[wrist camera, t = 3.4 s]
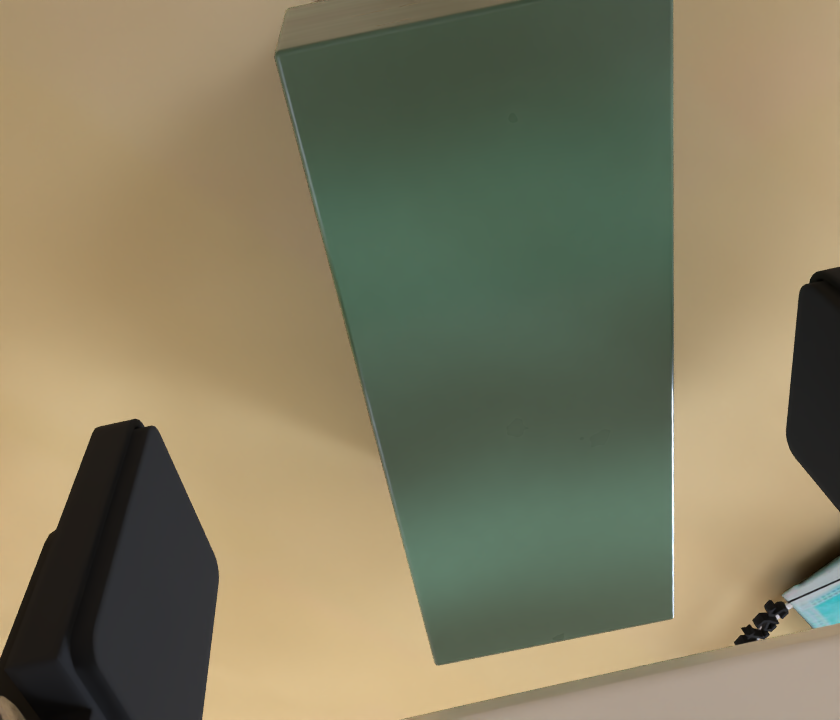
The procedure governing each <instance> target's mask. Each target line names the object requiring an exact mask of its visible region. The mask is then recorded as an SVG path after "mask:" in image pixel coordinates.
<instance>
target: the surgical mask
mask: <svg viewBox="0 0 840 720" xmlns="http://www.w3.org/2000/svg"><path fill="white" fill-rule="evenodd" d="M781 596H782V597H783V598H784V599H785V600H786V601H787V603H785V604H784V602H782V601H780V602H777V603H775V604H774V603H773V602H772V600H769V601H768V602H767V603H766V604H765V605H764V607H765V609H766V611H767V613H758V615H757V616H756V617H755V618H754V619H753V620H752V621H753V622H754V624H755V626H756V627H757V629H754V628H752V627H751V625H750V624H749V625H748V626H747V627H743V628H741V629H742V630H743V632H744V633H745V635H740V636H739V637H738V638H737V640H736V641H735V642H734V643H735V645H740V644H744V643H749V642H754V641H758V640H759V639H765V638H767V637H768V636H769V635H770V634H769V633H768V631H770V632H772V631H773V630H774V629H775V628H776V627H777V626H776V624H779V622H778V619H779V618H782V619H783V618H784V617H785V616H786V615H787V614H788V610H789V609H790V608H792V607H793V608H794V609H795V610H796V611H797V612H798V613H799V614H800V615H801V616H802V617H803V618H804V619H805V620H806V621H807V623H808V624H809V625H810V626H811V627H812V628H813V629H814V628H819V627H824V626H828V625H833V624H838V623H840V556H838V557H837V558H835V559H834V560H832V561H831V562H830V563H828V564H827V565H825V566H824V567H822V568H821V569H819V570H818V571H817V572H815V573H814V574H812V575H811V576H810V577H808V578H807V579H805V580H804V581H802V582H801V583H799V584H798V585H795V586H793V587H791V588H789V589H788V590H787V591H786V592H784V593H783V594H782V595H781Z"/></svg>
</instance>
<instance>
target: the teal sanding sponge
mask: <svg viewBox="0 0 840 720" xmlns="http://www.w3.org/2000/svg"><path fill="white" fill-rule="evenodd" d="M274 58H275V62H276V66H277V69H278V73H279V77H280V81H281V85H282V88H283V92H284V96H285V100H286V103H287V107H288V111H289V115H290V119H291V122H292V126H293V130H294V134H295V137H296V141H297V145H298V149H299V153H300V156H301V160H302V164H303V168H304V171H305V175H306V179H307V183H308V187H309V190H310V194H311V198H312V202H313V205H314V209H315V213H316V217H317V221H318V224H319V228H320V232H321V236H322V239H323V243H324V247H325V251H326V255H327V258H328V262H329V266H330V270H331V273H332V277H333V281H334V285H335V289H336V292H337V296H338V300H339V304H340V307H341V311H342V315H343V319H344V323H345V326H346V330H347V334H348V338H349V341H350V345H351V349H352V353H353V357H354V360H355V364H356V368H357V372H358V375H359V379H360V383H361V387H362V391H363V394H364V398H365V402H366V406H367V409H368V413H369V417H370V421H371V425H372V428H373V432H374V436H375V440H376V444H377V447H378V451H379V455H380V459H381V462H382V466H383V470H384V474H385V478H386V481H387V485H388V489H389V493H390V496H391V500H392V504H393V508H394V512H395V515H396V519H397V523H398V527H399V530H400V534H401V538H402V542H403V546H404V549H405V553H406V557H407V561H408V564H409V568H410V572H411V576H412V580H413V583H414V587H415V591H416V595H417V598H418V602H419V606H420V610H421V614H422V617H423V621H424V625H425V629H426V632H427V636H428V640H429V644H430V648H431V651H432V655H433V659H434V662H435V664H436V665H444V664H449V663H454V662H459V661H464V660H469V659H474V658H479V657H484V656H489V655H494V654H499V653H504V652H509V651H514V650H519V649H524V648H529V647H534V646H539V645H544V644H549V643H554V642H560V641H565V640H570V639H575V638H580V637H585V636H590V635H595V634H600V633H605V632H610V631H615V630H620V629H625V628H630V627H635V626H640V625H645V624H650V623H655V622H660V621H665V620H670V619H673V618H674V223H673V0H325V1H320V2H315V3H311V4H306V5H301V6H296V7H291V8H288V9H287V10H286V12H285V16H284V20H283V24H282V27H281V31H280V35H279V39H278V43H277V46H276V50H275V56H274Z"/></svg>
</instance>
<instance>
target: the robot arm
mask: <svg viewBox="0 0 840 720" xmlns="http://www.w3.org/2000/svg"><path fill="white" fill-rule="evenodd" d="M786 437H787V442H788V445H789V448H790V450H791V452H792V454H793V455H794V457H795V458H796V459H797V461H798V462H799V463H800V464H801V465H802V467H803V468H804V469H805V470H806V471H807V473H808V474H809V475H810V476H811V478H812V479H813V480H814V481H815V482H816V484H817V485H818V486H819V487H820V488H821V490H822V491H823V492H824V493H825V495H826V496H827V497H828V498H829V499H830V501H831V502H832V503H833V504H834V506H835V507H836V508H837V509H838V510H839V512H840V267H836V268H832V269H827V270H822V271H818V272H816V273H814V274H813V275H812V277H811V279H810V282H809V284H805V285H804V286H802V288H801V290H800V293H799V300H798V310H797V321H796V331H795V342H794V352H793V363H792V373H791V384H790V395H789V405H788V416H787V426H786ZM218 584H219V571H218V565H217V561H216V558H215V555H214V553H213V550H212V548H211V546H210V544H209V541H208V539H207V537H206V535H205V533H204V530H203V528H202V526H201V524H200V522H199V519H198V517H197V515H196V513H195V510H194V508H193V506H192V504H191V502H190V499H189V497H188V495H187V493H186V490H185V488H184V486H183V484H182V482H181V479H180V477H179V475H178V473H177V471H176V468H175V466H174V464H173V462H172V459H171V457H170V455H169V453H168V451H167V448H166V446H165V444H164V442H163V439H162V437H161V435H160V433H159V431H158V429H157V428H156V427H155V426H148V427H144V425H143V424H142V422H141V421H140V420H138V419H133V420H128V421H123V422H119V423H114V424H109V425H105V426H100V427H97V428H95V430H94V431H93V433H92V436H91V438H90V441H89V444H88V446H87V449H86V452H85V454H84V457H83V460H82V462H81V465H80V468H79V470H78V473H77V476H76V478H75V481H74V484H73V486H72V489H71V492H70V494H69V497H68V500H67V502H66V505H65V508H64V510H63V513H62V516H61V518H60V521H59V524H58V526H57V529H56V530H55V531H53V532H52V533H51V534H49V536H48V538H47V540H46V541H45V543H44V546H43V549H42V551H41V554H40V556H39V559H38V562H37V564H36V567H35V569H34V572H33V575H32V577H31V580H30V582H29V585H28V588H27V590H26V593H25V595H24V598H23V601H22V603H21V606H20V608H19V611H18V614H17V616H16V619H15V621H14V624H13V627H12V629H11V632H10V634H9V637H8V640H7V642H6V645H5V647H4V650H3V653H2V655H1V658H0V720H202V715H203V707H204V699H205V691H206V682H207V674H208V666H209V658H210V650H211V641H212V633H213V625H214V617H215V608H216V600H217V592H218ZM401 720H840V623H838V624H833V625H828V626H824V627H819V628H814V629H810V630H805V631H800V632H796V633H791V634H786V635H782V636H777V637H772V638H768V639H763V640H758V641H754V642H749V643H744V644H740V645H735V646H730V647H726V648H721V649H717V650H712V651H708V652H703V653H698V654H694V655H689V656H685V657H680V658H676V659H671V660H666V661H662V662H657V663H653V664H648V665H644V666H639V667H634V668H630V669H625V670H621V671H616V672H612V673H607V674H603V675H598V676H594V677H589V678H584V679H580V680H575V681H571V682H566V683H562V684H557V685H553V686H548V687H544V688H539V689H535V690H530V691H526V692H521V693H517V694H512V695H507V696H503V697H498V698H494V699H490V700H485V701H481V702H476V703H472V704H467V705H463V706H458V707H454V708H450V709H445V710H441V711H436V712H432V713H427V714H423V715H419V716H414V717H410V718H405V719H401Z"/></svg>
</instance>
